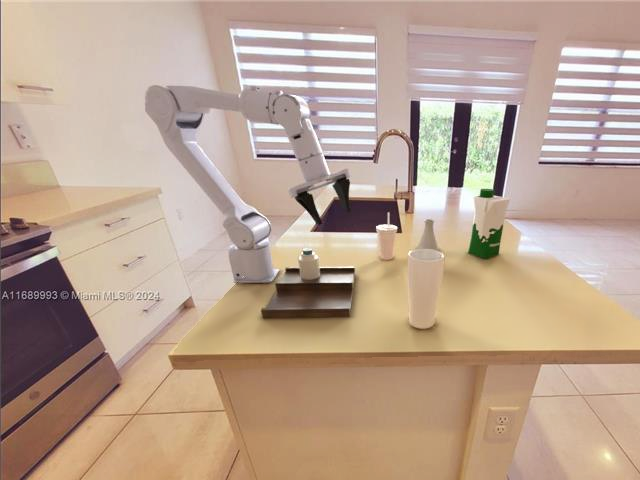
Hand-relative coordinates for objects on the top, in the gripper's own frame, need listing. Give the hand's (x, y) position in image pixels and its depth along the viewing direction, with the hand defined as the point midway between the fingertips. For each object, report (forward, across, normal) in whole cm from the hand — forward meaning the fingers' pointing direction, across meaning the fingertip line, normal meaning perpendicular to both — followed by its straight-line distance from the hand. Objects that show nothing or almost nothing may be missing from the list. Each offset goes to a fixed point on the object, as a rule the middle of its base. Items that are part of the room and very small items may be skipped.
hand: (333, 218), depth 74 cm
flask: (+23, +31, +11) cm, 40 cm away
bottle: (+12, -9, +6) cm, 16 cm away
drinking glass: (+23, +1, -23) cm, 33 cm away
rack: (+15, -11, +1) cm, 18 cm away
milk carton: (+29, +44, -2) cm, 52 cm away
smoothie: (+19, +16, +12) cm, 28 cm away
